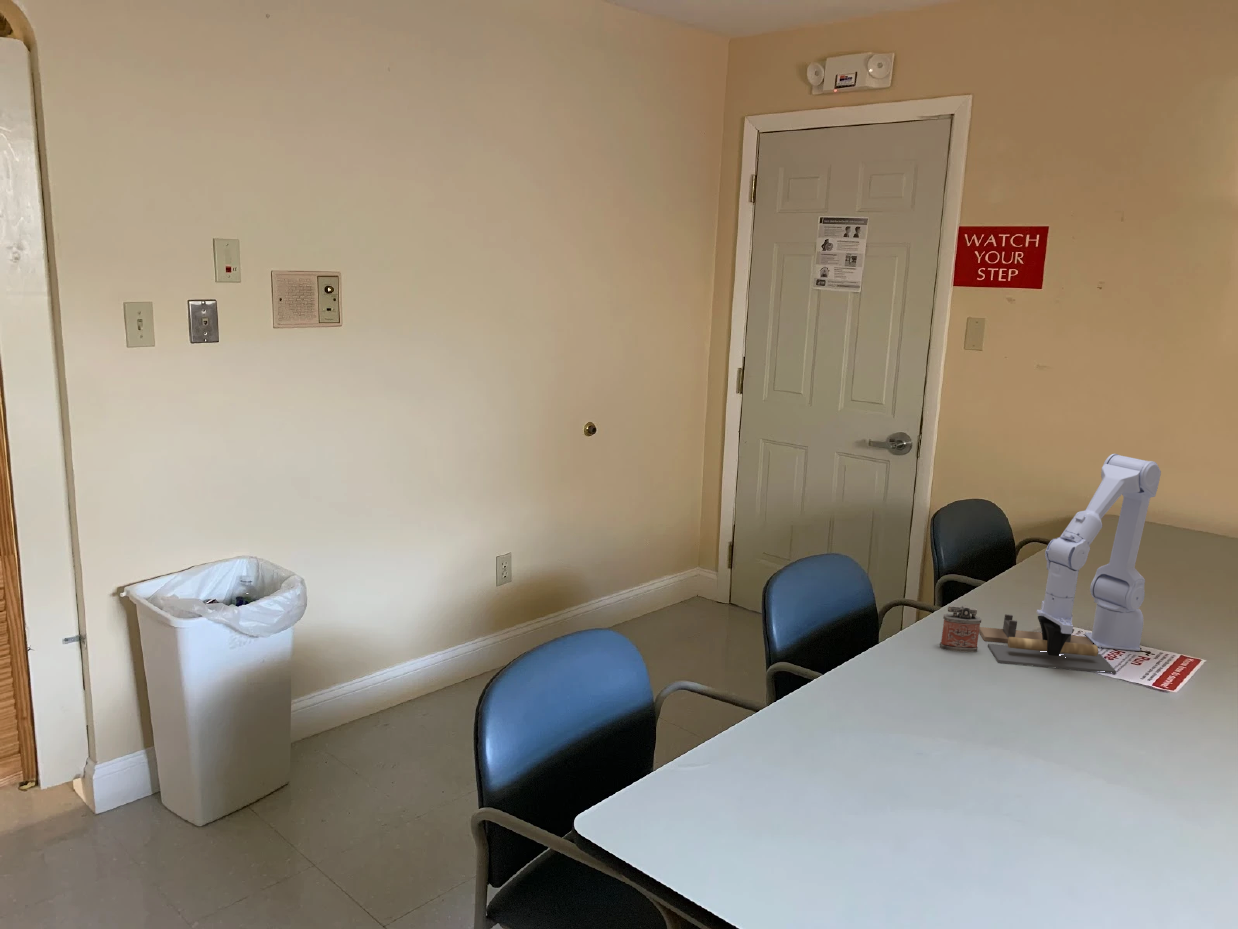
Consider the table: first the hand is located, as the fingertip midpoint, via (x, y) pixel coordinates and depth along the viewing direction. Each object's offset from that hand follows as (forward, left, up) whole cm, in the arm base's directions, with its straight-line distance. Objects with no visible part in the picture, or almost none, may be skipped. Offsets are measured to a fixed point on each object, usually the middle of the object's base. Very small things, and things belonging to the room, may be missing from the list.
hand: (1050, 652), depth 198 cm
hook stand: (0, -11, -2) cm, 11 cm away
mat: (0, 0, -2) cm, 2 cm away
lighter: (+19, -2, -2) cm, 19 cm away
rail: (0, 0, 0) cm, 0 cm away
